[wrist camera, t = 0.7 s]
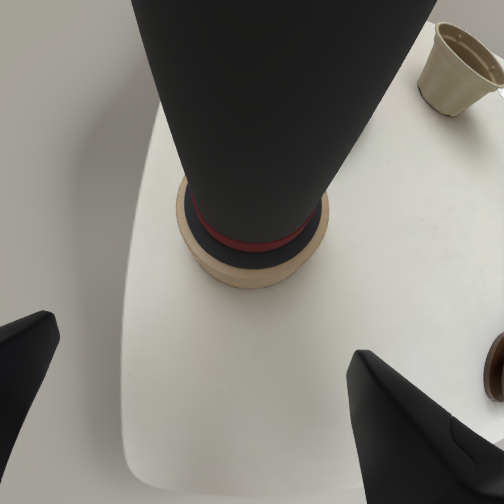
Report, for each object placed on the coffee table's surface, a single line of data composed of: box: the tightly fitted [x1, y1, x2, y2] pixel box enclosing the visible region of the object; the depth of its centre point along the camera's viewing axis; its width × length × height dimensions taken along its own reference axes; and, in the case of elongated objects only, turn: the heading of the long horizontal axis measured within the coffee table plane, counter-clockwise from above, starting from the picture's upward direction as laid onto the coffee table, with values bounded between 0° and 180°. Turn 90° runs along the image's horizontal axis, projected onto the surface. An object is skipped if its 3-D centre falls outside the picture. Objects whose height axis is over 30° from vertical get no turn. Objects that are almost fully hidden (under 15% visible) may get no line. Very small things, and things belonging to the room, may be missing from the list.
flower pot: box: [418, 22, 504, 117], centre depth 23 cm, size 9×9×9 cm
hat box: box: [176, 175, 329, 289], centre depth 20 cm, size 9×9×4 cm
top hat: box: [131, 0, 437, 270], centre depth 10 cm, size 8×8×15 cm
